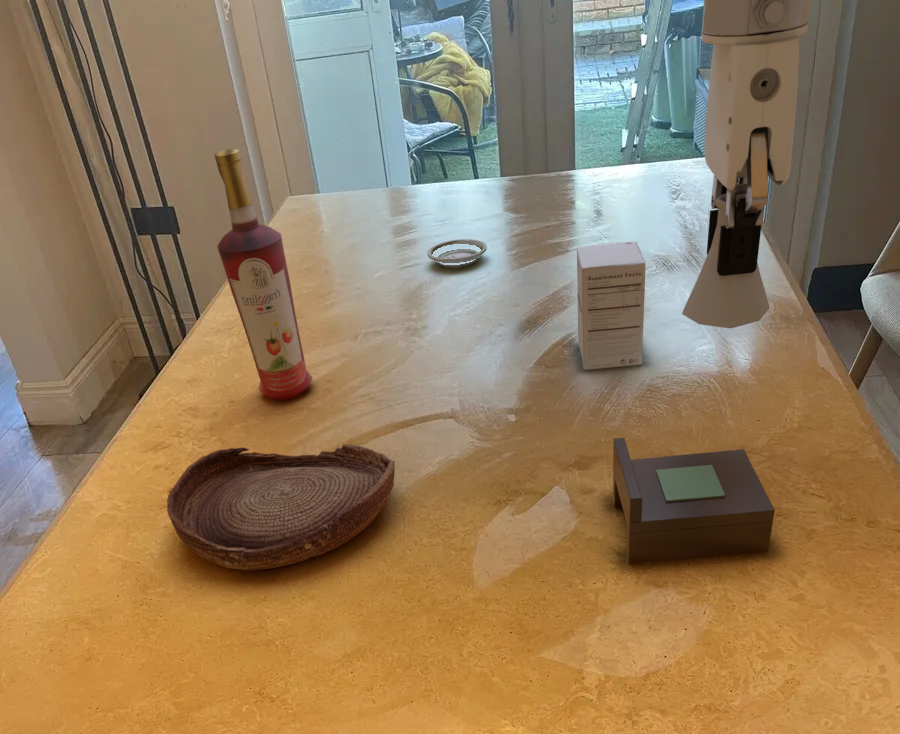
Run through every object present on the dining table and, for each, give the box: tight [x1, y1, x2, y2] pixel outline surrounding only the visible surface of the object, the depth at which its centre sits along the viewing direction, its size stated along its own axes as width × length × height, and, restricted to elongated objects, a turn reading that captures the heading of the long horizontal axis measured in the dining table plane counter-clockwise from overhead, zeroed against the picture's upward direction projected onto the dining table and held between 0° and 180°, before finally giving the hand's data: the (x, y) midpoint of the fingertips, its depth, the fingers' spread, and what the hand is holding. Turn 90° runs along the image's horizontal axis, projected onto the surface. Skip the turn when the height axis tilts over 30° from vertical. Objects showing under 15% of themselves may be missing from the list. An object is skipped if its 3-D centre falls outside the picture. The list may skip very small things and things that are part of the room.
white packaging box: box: [576, 240, 646, 371], centre depth 102 cm, size 7×7×13 cm
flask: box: [681, 194, 770, 329], centre depth 74 cm, size 7×7×10 cm
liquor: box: [213, 148, 313, 401], centre depth 100 cm, size 7×7×28 cm
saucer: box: [426, 238, 488, 270], centre depth 137 cm, size 10×10×2 cm
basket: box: [166, 444, 396, 571], centre depth 84 cm, size 22×20×5 cm
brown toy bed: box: [612, 437, 776, 565], centre depth 75 cm, size 12×10×7 cm
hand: (730, 262), depth 74 cm, fingers closed on flask, 3 cm apart
